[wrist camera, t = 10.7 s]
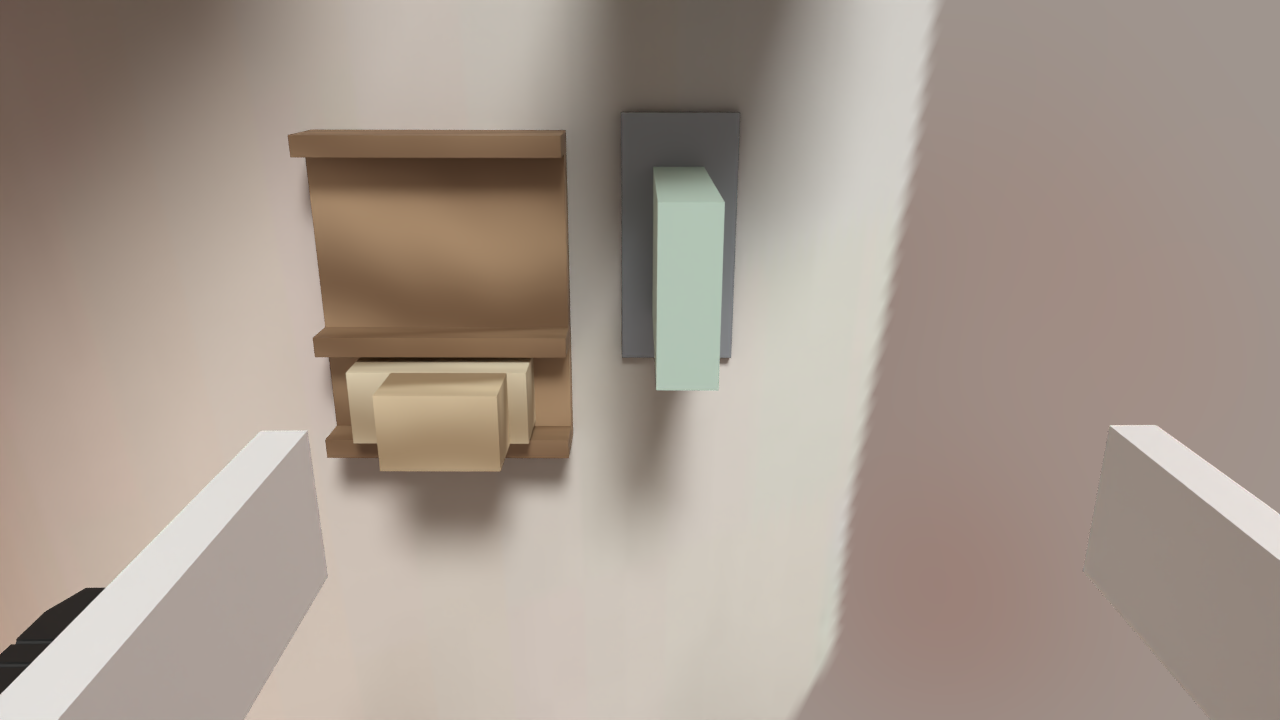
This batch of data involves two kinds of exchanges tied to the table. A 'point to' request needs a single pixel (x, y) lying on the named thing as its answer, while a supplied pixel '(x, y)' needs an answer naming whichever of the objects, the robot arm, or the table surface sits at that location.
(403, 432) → the offcut top
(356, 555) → the table surface
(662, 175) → the sheet
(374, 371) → the block
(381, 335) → the rack
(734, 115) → the mat
